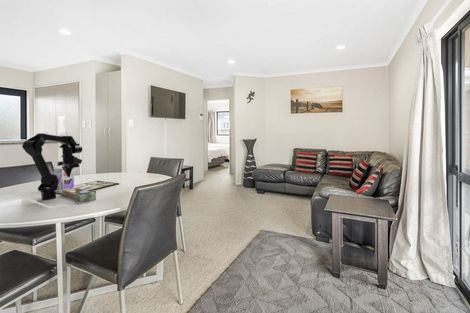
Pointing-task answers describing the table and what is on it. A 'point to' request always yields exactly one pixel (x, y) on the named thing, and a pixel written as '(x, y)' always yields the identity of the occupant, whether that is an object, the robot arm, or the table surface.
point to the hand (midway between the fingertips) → (68, 176)
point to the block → (84, 192)
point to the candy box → (63, 179)
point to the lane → (81, 197)
